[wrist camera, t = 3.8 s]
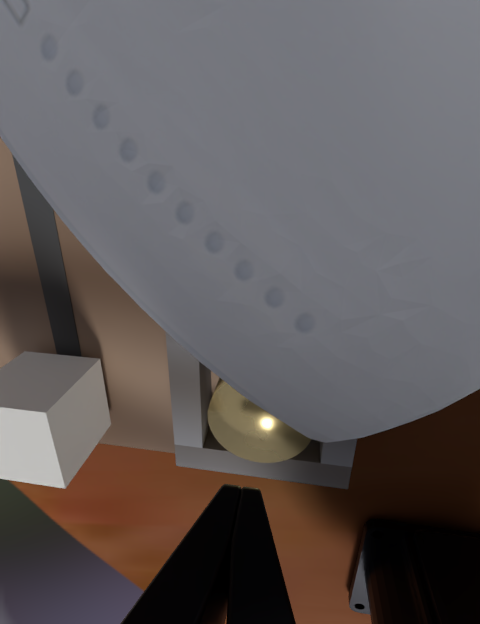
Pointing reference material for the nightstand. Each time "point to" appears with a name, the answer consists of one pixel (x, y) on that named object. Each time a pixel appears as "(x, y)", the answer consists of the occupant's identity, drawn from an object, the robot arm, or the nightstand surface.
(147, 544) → the nightstand surface
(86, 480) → the nightstand surface
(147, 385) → the control panel
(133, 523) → the nightstand surface
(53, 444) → the slider knob
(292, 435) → the brass button
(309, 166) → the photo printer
